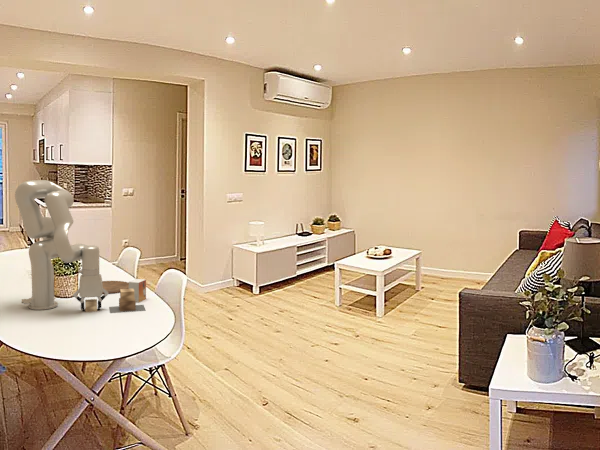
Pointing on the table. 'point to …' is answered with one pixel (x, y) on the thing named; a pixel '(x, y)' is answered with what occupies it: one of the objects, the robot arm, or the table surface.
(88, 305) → the maple cube
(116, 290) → the trivet
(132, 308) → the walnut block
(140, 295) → the small box
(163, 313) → the table surface
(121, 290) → the oak block
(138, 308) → the slate mat
